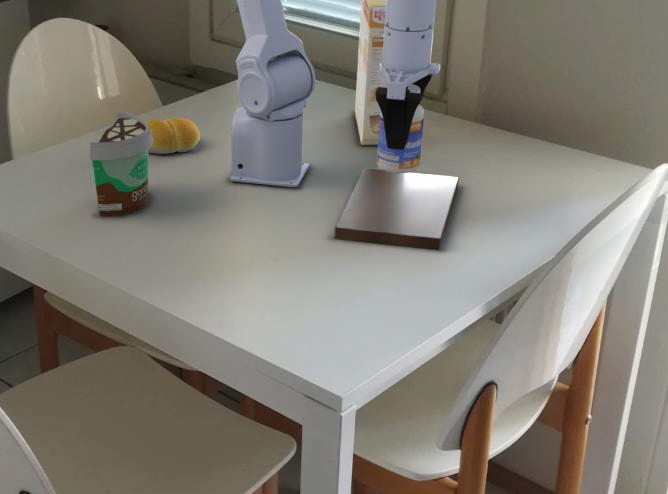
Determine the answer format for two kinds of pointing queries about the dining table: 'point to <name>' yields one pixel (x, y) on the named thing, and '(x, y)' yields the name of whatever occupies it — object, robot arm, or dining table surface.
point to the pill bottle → (411, 154)
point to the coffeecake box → (370, 69)
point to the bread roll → (173, 135)
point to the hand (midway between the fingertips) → (399, 139)
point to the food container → (122, 165)
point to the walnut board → (398, 209)
